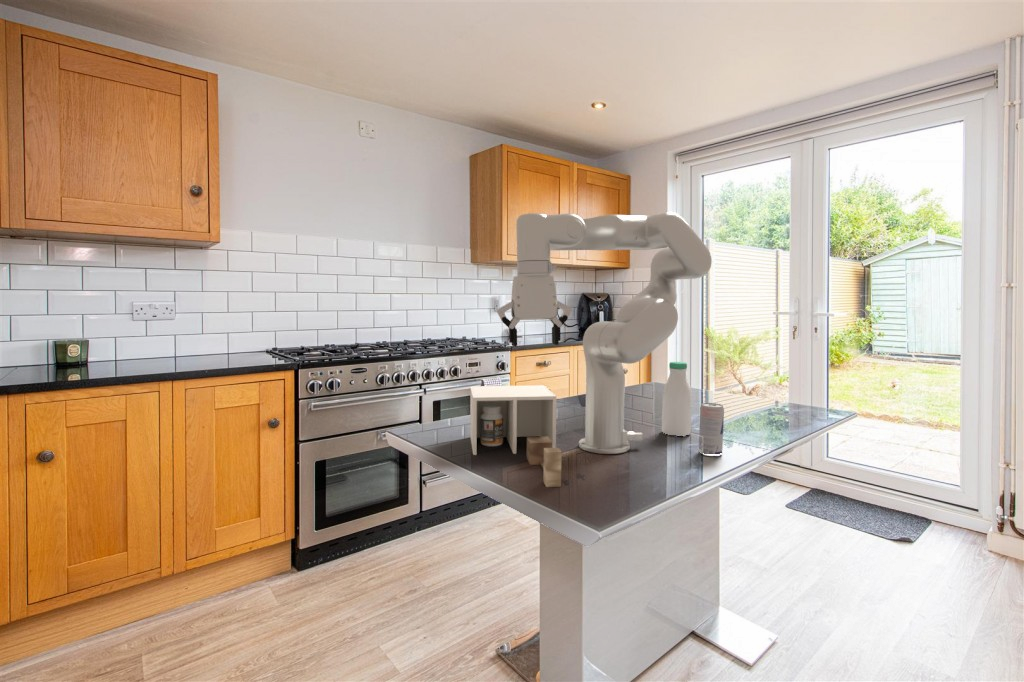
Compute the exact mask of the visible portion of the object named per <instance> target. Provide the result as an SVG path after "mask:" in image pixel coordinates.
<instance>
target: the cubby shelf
mask: <svg viewBox="0 0 1024 682" xmlns="http://www.w3.org/2000/svg"><path fill="white" fill-rule="evenodd" d="M469 388H470V389H469V391H470V393H469V394H470V395H469V396H470V397H469V398H470V399H469V401H470V402H469V403H470V407H469V409H470V410H469V411H470V413H469V414H470V421H469V425H470V428H469V430H470V431H469V432H470V435H469V438H470V444H471V451H472V455H473V456H477V454H478V453H477V451H478V450H477V439H481V415H482V414H483V413H484V412H483V405H487V404H497V405H500V406H501V411H500V413H501V414H502V416H503V438H506V440H507V443H508V444H509V447H510V449H511V452H512V454H513V455H514V454H515V455H516V454H517V448H518V447H517V443H518V442H517V441H518V440H517V438H518V437H525V438H526V437H549V439H550V440H551V441H552V448H557V395H556V394H555V393H554V392H552V391H551V390H550V389H549V388H548V387H547V386H546V385H542V384H538V385H534V384H533V385H532V384H531V385H478V386H476V385H474V386H472V385H471V386H470V387H469Z"/></svg>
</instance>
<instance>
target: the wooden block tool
mask: <svg viewBox="0 0 1024 682" xmlns="http://www.w3.org/2000/svg"><path fill="white" fill-rule="evenodd" d="M526 460H527V461H528V464H529V465H530V466H532V465H533V466H535V465H536V466H537V465H538V466H539V465H540V466H541V467H542V470H543V476H542V477H543V478H542V479H543V481H542V482H543V483H544V485H545V488H553V487H554V488H556V487H557V488H558V487H562V450H561V449H560V447H556V448H552V441H551V440H550V439H549V437H542V436H526Z"/></svg>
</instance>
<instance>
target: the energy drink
mask: <svg viewBox="0 0 1024 682" xmlns="http://www.w3.org/2000/svg"><path fill="white" fill-rule="evenodd" d="M699 407H700V408H699V426H698V427H699V428H698V429H699V430H698V432H699V433H698V453H699V452H701V453H704V454H720V453H722V454H723V446H724V443H723V442H724V424H725V423H724V420H725V416H724V415H725V409H724V405H723V404H720V403H714V402H704V403H701V404H700V406H699Z"/></svg>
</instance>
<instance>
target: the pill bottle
mask: <svg viewBox="0 0 1024 682" xmlns="http://www.w3.org/2000/svg"><path fill="white" fill-rule="evenodd" d="M500 411H501V406H500V405H497V404H487V405H483V412H484V413H483V414H482V415H481V438H480V444H481V445H483V446H485V447H499V446H501V445H503V443H504V437H503V416H502V414H501V413H500Z"/></svg>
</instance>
